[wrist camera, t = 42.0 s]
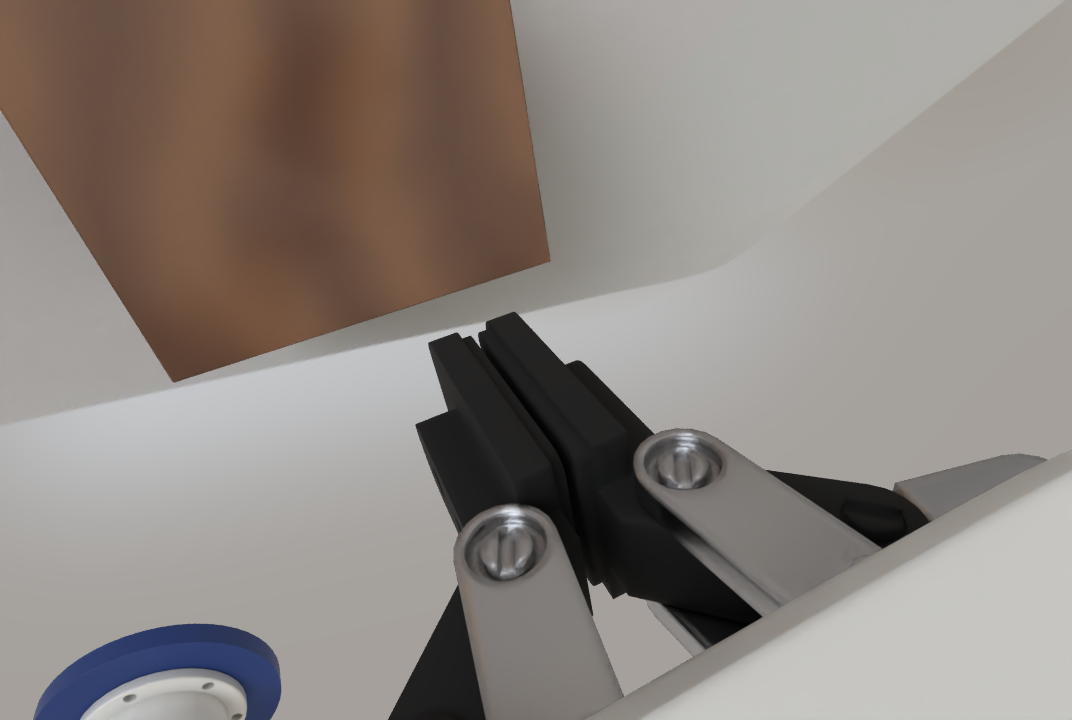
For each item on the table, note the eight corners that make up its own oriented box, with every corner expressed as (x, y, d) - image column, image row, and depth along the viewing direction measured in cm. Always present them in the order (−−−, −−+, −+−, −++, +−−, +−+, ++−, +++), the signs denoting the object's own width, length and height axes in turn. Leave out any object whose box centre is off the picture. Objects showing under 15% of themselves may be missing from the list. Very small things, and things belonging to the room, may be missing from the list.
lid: (484, -117, 22) (491, -120, 21) (545, 255, 30) (551, 261, 30) (-72, -21, 18) (-84, -21, 17) (174, 373, 27) (172, 383, 26)
